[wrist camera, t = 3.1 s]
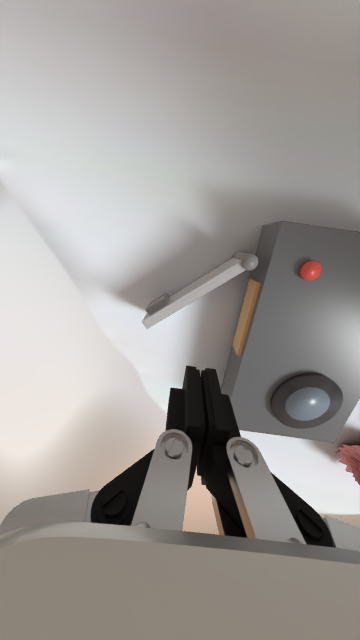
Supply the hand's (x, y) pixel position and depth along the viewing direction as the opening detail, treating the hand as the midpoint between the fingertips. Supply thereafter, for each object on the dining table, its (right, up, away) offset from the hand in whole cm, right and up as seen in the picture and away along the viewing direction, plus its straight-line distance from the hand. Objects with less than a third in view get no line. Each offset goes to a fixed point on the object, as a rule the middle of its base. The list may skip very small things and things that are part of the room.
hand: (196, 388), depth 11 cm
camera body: (+11, +2, +10) cm, 15 cm away
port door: (0, +7, +8) cm, 11 cm away
